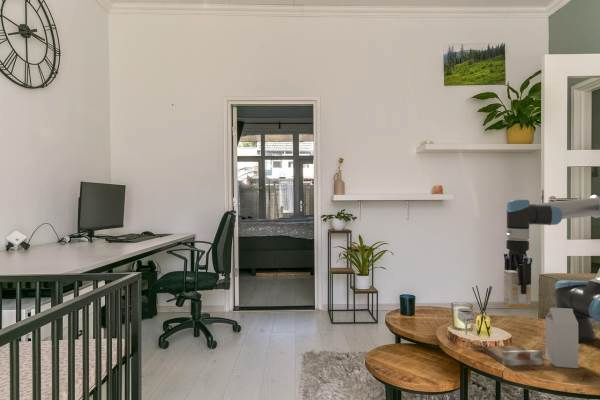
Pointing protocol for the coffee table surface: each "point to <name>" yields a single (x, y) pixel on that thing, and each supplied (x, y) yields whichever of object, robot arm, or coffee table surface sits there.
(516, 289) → the supplement box
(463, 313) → the wineglass
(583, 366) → the coffee table surface
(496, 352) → the grey flat box
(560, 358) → the milk carton
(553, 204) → the robot arm
